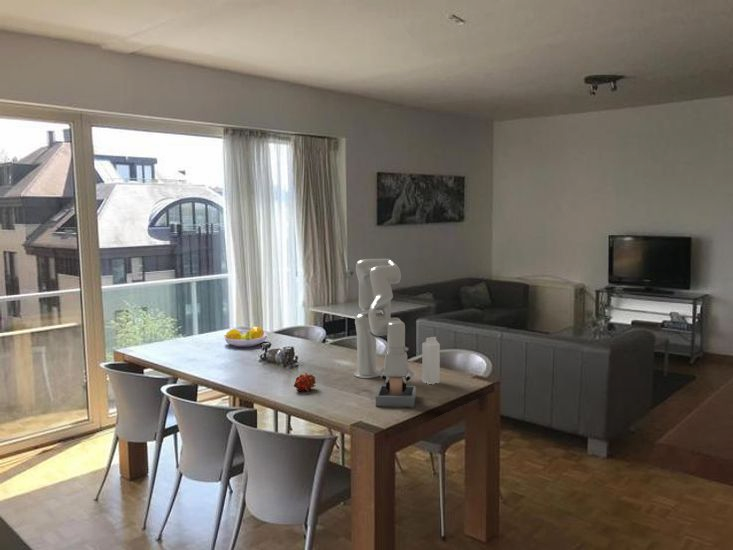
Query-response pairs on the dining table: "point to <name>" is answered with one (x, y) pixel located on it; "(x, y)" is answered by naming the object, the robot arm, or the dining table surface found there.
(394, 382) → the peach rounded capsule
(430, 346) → the milk
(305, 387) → the dragon fruit
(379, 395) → the bin
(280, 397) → the dining table surface
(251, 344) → the fruit bowl
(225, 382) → the dining table surface
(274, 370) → the dining table surface
